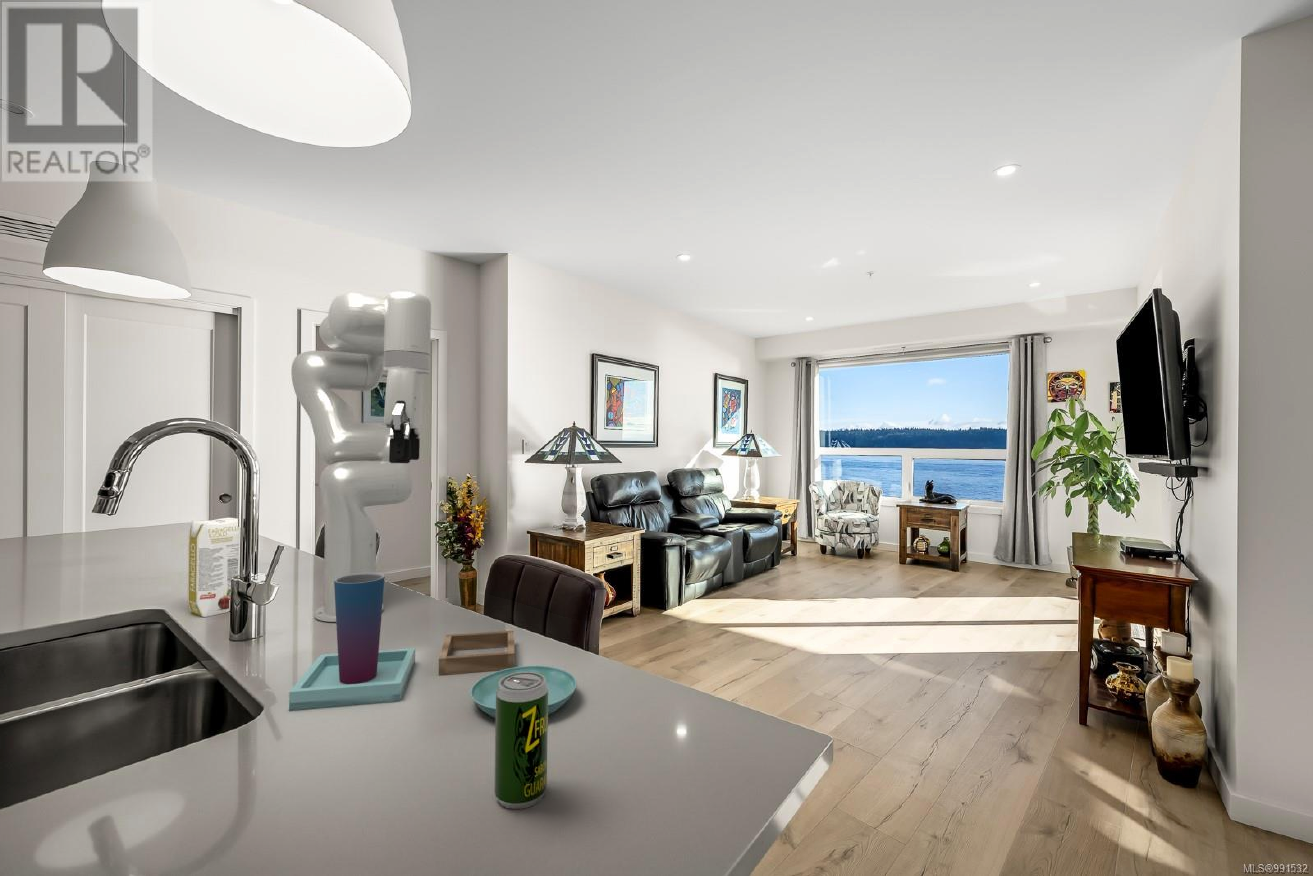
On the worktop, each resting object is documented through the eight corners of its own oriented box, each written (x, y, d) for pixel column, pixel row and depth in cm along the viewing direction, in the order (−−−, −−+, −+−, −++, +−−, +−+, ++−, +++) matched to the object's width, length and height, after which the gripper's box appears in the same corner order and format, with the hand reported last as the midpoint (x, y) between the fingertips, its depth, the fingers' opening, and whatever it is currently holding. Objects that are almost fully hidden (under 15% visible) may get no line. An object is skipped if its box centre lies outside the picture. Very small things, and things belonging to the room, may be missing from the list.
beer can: (483, 803, 61) (485, 686, 61) (514, 775, 66) (515, 668, 66) (528, 816, 59) (529, 696, 59) (556, 787, 64) (558, 676, 64)
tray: (320, 670, 94) (320, 654, 94) (415, 663, 97) (415, 648, 97) (289, 710, 80) (289, 692, 80) (400, 700, 84) (400, 683, 84)
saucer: (521, 674, 94) (522, 658, 94) (597, 696, 86) (597, 678, 86) (446, 711, 81) (446, 692, 81) (527, 741, 74) (527, 719, 74)
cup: (369, 687, 85) (370, 583, 85) (322, 686, 86) (324, 582, 85) (391, 669, 92) (392, 572, 92) (348, 668, 92) (349, 571, 92)
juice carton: (248, 609, 125) (249, 519, 125) (200, 619, 117) (201, 524, 117) (230, 603, 129) (231, 516, 129) (183, 613, 121) (184, 520, 121)
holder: (445, 649, 104) (446, 634, 104) (513, 644, 107) (513, 630, 107) (438, 675, 93) (438, 659, 93) (514, 669, 95) (514, 653, 95)
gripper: (394, 367, 112) (392, 458, 112) (372, 357, 95) (370, 464, 95) (436, 369, 113) (434, 458, 114) (422, 360, 97) (419, 464, 97)
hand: (404, 461), depth 104 cm, fingers open, 9 cm apart
